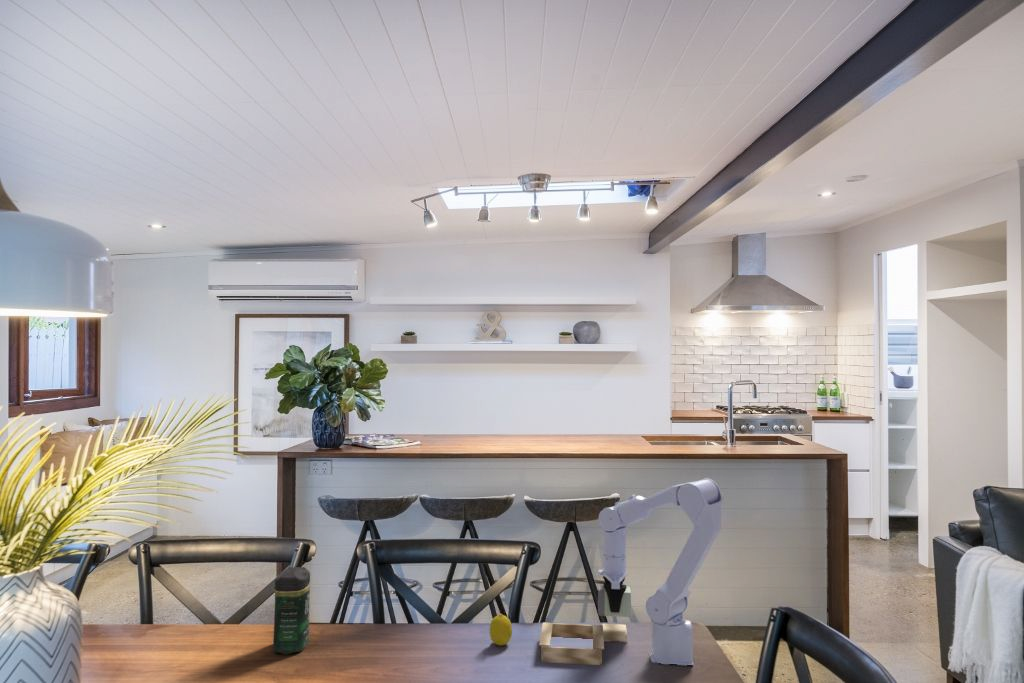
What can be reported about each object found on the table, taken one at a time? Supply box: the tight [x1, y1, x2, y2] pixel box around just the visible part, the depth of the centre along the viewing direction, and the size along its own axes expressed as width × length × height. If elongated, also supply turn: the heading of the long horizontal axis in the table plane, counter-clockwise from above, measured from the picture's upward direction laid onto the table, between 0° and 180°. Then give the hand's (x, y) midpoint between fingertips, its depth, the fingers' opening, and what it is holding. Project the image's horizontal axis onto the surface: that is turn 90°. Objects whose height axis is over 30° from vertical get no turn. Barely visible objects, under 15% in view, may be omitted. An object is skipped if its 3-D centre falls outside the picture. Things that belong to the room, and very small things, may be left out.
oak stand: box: [601, 623, 628, 643], centre depth 166 cm, size 6×6×2 cm
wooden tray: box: [538, 622, 605, 666], centre depth 158 cm, size 15×14×4 cm
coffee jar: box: [272, 566, 311, 655], centre depth 162 cm, size 10×8×19 cm
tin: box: [597, 584, 632, 618], centre depth 166 cm, size 8×4×6 cm, turn 83°
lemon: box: [489, 613, 513, 647], centre depth 162 cm, size 6×6×8 cm
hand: (614, 608), depth 166 cm, fingers closed on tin, 4 cm apart
